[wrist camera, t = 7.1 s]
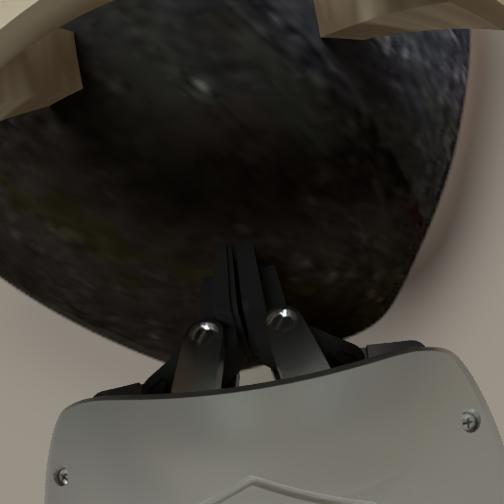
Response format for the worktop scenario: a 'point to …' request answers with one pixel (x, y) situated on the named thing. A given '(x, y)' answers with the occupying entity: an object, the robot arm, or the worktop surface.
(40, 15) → the bridge
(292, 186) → the worktop surface
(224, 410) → the robot arm
